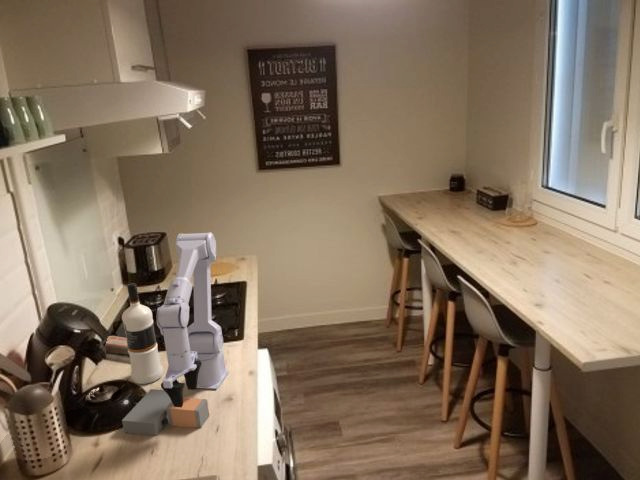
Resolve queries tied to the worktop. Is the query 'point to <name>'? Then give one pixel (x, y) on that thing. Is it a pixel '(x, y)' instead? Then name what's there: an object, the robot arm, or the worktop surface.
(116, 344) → the packaged product
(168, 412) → the block
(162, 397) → the stand
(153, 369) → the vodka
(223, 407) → the worktop surface
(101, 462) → the worktop surface
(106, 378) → the worktop surface
